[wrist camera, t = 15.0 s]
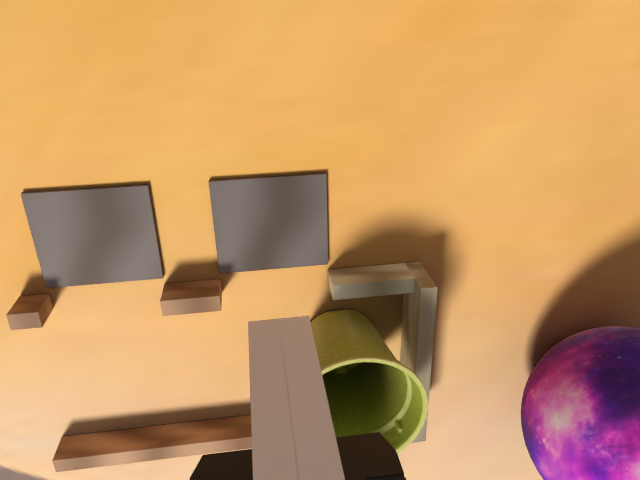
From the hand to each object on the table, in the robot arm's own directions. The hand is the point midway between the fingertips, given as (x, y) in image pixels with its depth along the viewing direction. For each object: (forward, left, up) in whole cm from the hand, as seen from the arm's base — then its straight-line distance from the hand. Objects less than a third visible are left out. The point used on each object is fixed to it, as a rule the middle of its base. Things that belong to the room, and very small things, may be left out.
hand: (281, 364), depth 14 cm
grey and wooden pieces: (+5, -13, -24) cm, 28 cm away
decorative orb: (+34, -6, -25) cm, 42 cm away
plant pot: (+13, -12, -25) cm, 30 cm away
